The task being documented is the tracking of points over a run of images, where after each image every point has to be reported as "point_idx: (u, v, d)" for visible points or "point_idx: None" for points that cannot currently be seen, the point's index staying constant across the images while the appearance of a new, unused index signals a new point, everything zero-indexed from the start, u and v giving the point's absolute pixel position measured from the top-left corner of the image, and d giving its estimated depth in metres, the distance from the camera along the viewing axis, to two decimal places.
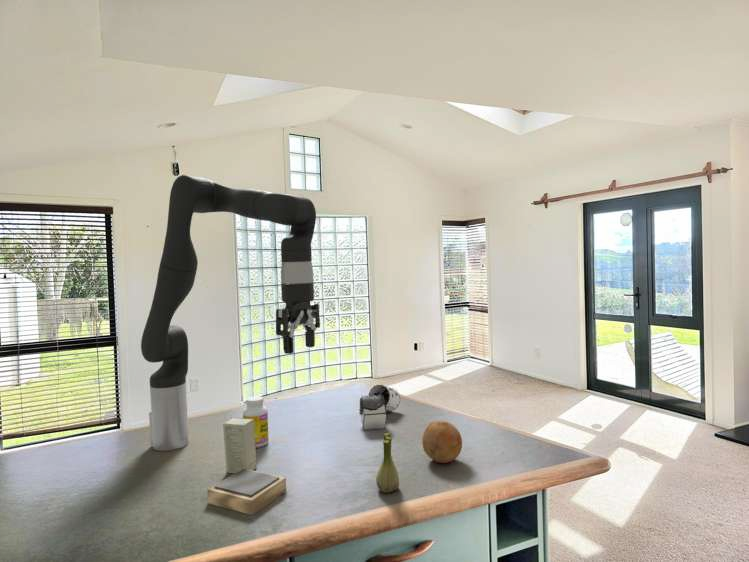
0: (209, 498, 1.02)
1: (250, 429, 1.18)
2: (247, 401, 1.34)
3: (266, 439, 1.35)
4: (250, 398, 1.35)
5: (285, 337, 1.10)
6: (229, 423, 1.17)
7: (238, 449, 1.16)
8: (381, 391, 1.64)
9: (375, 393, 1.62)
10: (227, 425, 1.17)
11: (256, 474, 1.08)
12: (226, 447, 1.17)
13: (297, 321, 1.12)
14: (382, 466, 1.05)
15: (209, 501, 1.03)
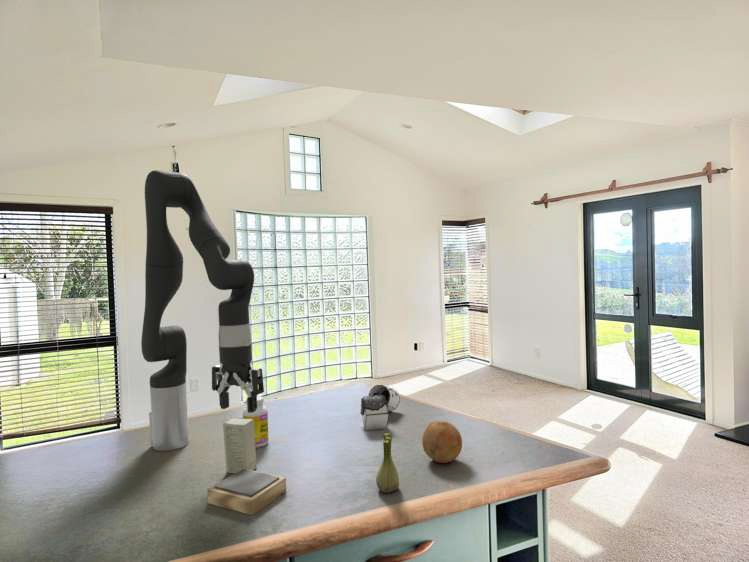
0: (209, 498, 1.02)
1: (250, 429, 1.18)
2: None
3: (266, 439, 1.35)
4: None
5: (255, 396, 1.16)
6: (229, 423, 1.17)
7: (238, 449, 1.16)
8: (381, 391, 1.64)
9: (375, 393, 1.62)
10: (227, 425, 1.17)
11: (256, 474, 1.08)
12: (226, 447, 1.17)
13: None
14: (382, 466, 1.05)
15: (209, 501, 1.03)
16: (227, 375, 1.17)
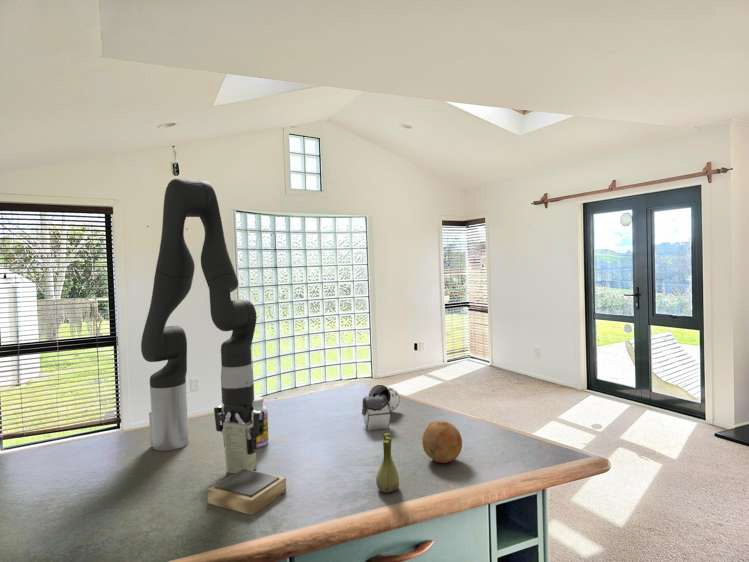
0: (209, 498, 1.02)
1: (250, 429, 1.18)
2: None
3: (266, 439, 1.35)
4: None
5: (255, 438, 1.16)
6: (229, 423, 1.17)
7: (238, 449, 1.16)
8: (380, 391, 1.64)
9: (374, 393, 1.61)
10: (227, 425, 1.17)
11: (256, 474, 1.08)
12: (226, 447, 1.17)
13: None
14: (382, 466, 1.05)
15: (209, 501, 1.03)
16: (229, 415, 1.17)
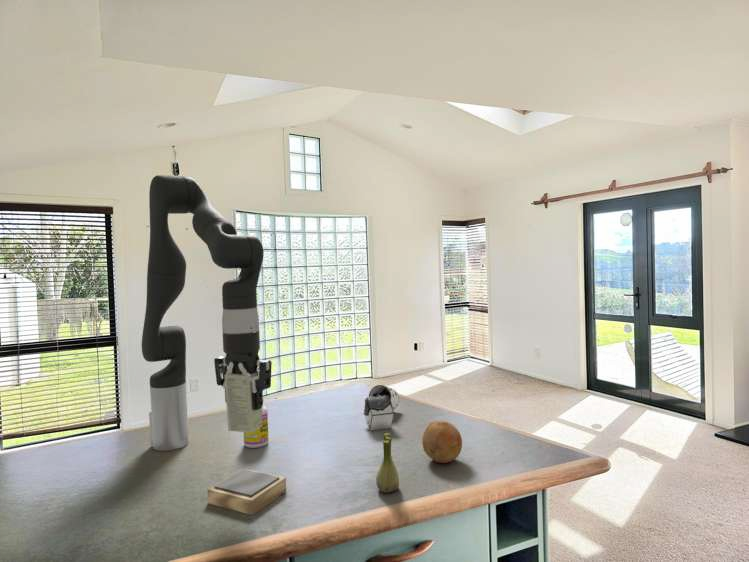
0: (209, 498, 1.02)
1: None
2: None
3: (266, 439, 1.35)
4: None
5: (261, 391, 1.02)
6: (231, 375, 1.03)
7: (242, 404, 1.02)
8: (379, 391, 1.64)
9: (374, 393, 1.61)
10: (229, 376, 1.02)
11: (256, 474, 1.08)
12: (228, 402, 1.03)
13: None
14: (382, 466, 1.05)
15: (209, 501, 1.03)
16: (232, 365, 1.03)
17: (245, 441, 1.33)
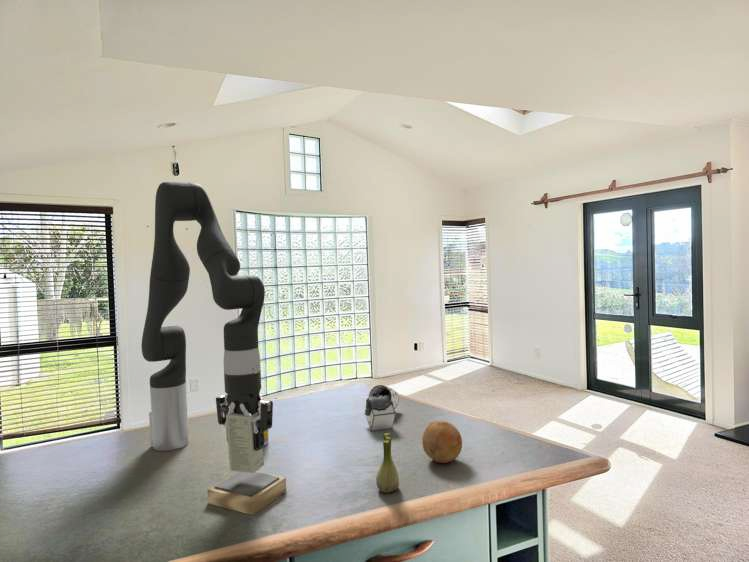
0: (209, 498, 1.02)
1: None
2: None
3: (266, 439, 1.35)
4: None
5: (262, 431, 1.02)
6: (233, 415, 1.03)
7: (243, 444, 1.02)
8: (379, 391, 1.63)
9: (374, 394, 1.61)
10: (231, 417, 1.03)
11: (256, 474, 1.08)
12: (229, 442, 1.03)
13: None
14: (382, 466, 1.05)
15: (209, 501, 1.03)
16: (233, 406, 1.03)
17: None
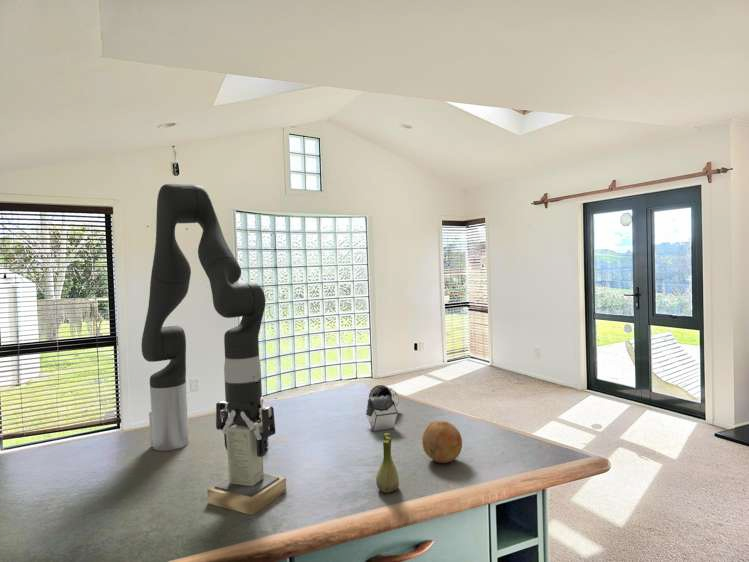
0: (209, 498, 1.02)
1: None
2: None
3: None
4: None
5: (266, 438, 1.02)
6: (232, 428, 1.03)
7: (243, 457, 1.02)
8: (379, 391, 1.63)
9: (374, 394, 1.61)
10: (230, 429, 1.03)
11: None
12: (229, 455, 1.04)
13: None
14: (382, 466, 1.05)
15: (209, 501, 1.03)
16: (234, 414, 1.03)
17: None
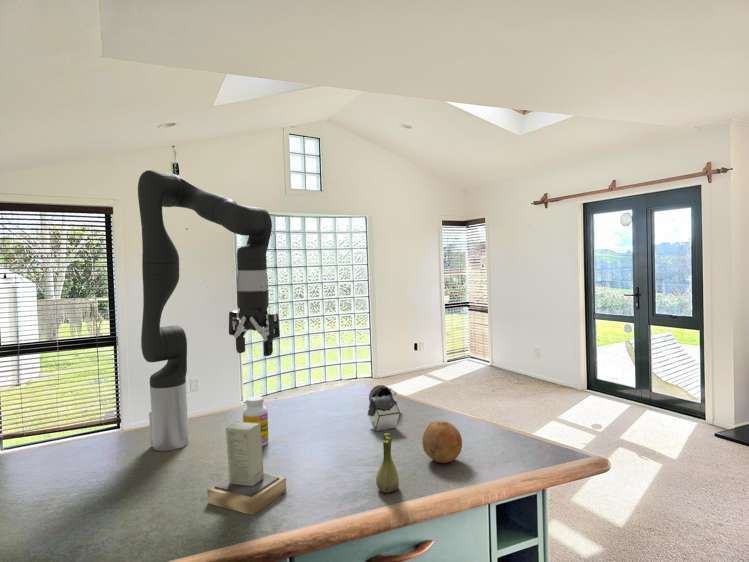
0: (209, 498, 1.02)
1: (257, 434, 1.04)
2: (247, 401, 1.34)
3: (266, 439, 1.35)
4: (250, 398, 1.35)
5: (271, 340, 1.18)
6: (232, 428, 1.03)
7: (243, 457, 1.02)
8: (378, 392, 1.63)
9: (374, 394, 1.61)
10: (230, 429, 1.03)
11: None
12: (229, 455, 1.04)
13: None
14: (382, 466, 1.05)
15: (209, 501, 1.03)
16: (244, 319, 1.19)
17: None
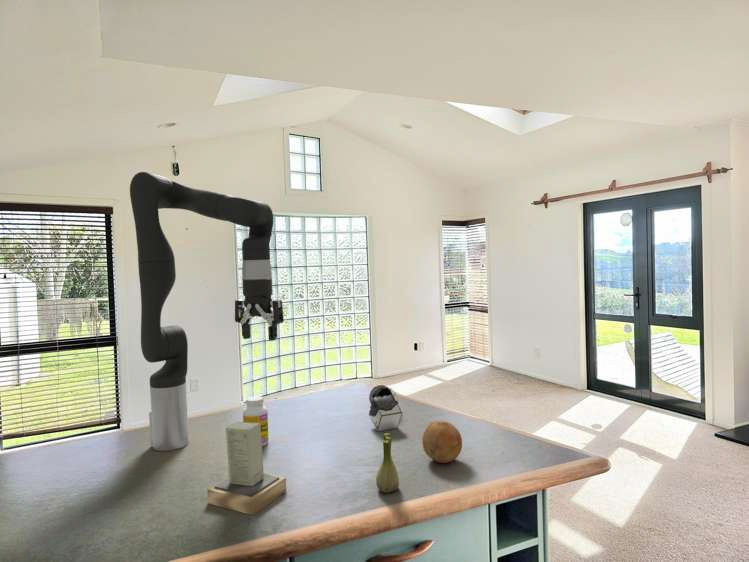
0: (209, 498, 1.02)
1: (257, 434, 1.04)
2: (247, 401, 1.34)
3: (266, 439, 1.35)
4: (250, 398, 1.35)
5: (276, 325, 1.26)
6: (232, 428, 1.03)
7: (243, 457, 1.02)
8: (378, 392, 1.63)
9: (373, 394, 1.61)
10: (230, 429, 1.03)
11: None
12: (229, 455, 1.04)
13: None
14: (382, 466, 1.05)
15: (209, 501, 1.03)
16: (250, 306, 1.27)
17: None
